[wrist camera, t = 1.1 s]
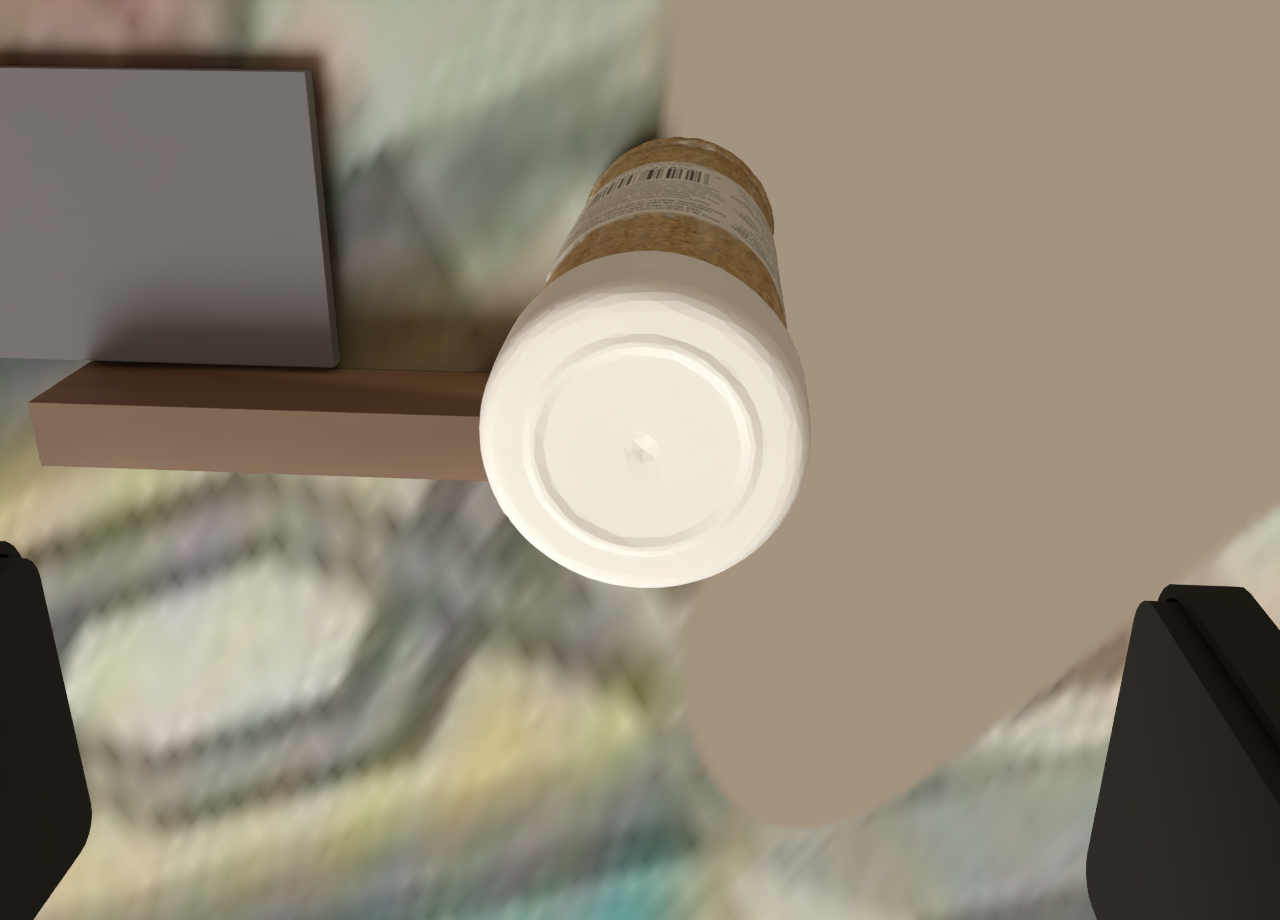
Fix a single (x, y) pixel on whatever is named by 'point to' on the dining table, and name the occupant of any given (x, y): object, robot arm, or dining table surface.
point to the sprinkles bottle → (653, 379)
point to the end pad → (163, 217)
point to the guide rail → (264, 420)
